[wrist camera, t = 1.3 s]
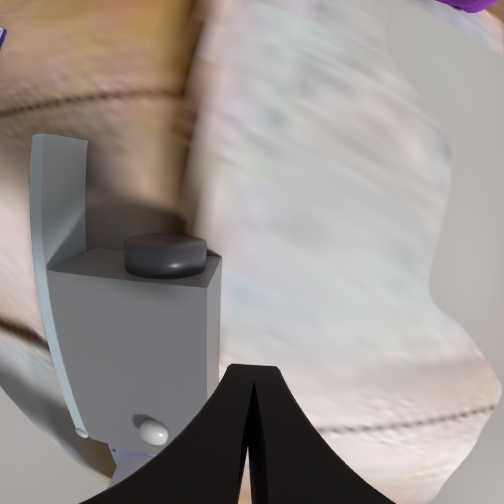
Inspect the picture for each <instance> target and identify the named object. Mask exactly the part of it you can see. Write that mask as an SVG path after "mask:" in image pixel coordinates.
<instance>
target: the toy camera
mask: <svg viewBox="0 0 504 504" xmlns="http://www.w3.org/2000/svg"><path fill="white" fill-rule="evenodd" d="M436 1H439V2H442V3H445V4H448V5H452V6H458V7H459V8H461V9H462V10H464V11H466V12H468V13H476V12H479V11H481V10H483V9H485V8H487V7H489V6H490V5H492V4H494V3H495V2H497V1H499V0H436Z"/></svg>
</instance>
